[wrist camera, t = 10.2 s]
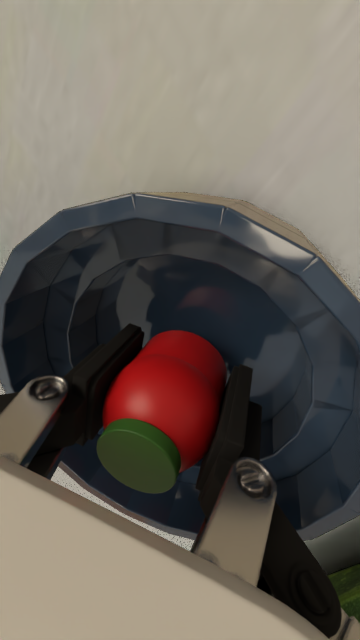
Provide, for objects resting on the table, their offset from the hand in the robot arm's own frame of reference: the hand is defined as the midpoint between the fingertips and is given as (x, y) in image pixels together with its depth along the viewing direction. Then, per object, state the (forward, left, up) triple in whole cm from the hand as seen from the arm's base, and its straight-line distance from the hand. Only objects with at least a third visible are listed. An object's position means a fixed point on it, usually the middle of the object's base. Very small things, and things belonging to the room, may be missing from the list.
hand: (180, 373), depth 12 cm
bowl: (0, 0, -2) cm, 2 cm away
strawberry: (0, 0, 0) cm, 0 cm away
